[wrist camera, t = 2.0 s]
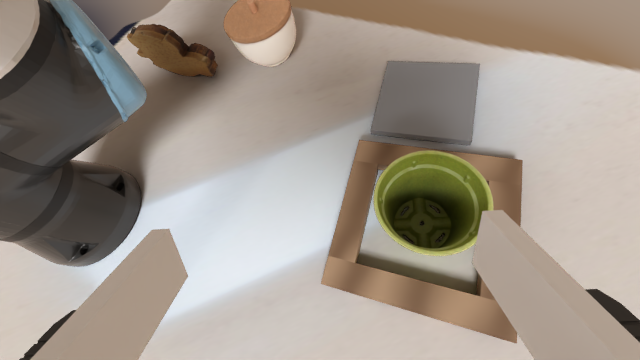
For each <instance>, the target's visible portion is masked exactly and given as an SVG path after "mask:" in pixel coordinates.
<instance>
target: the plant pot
mask: <svg viewBox="0 0 640 360" xmlns="http://www.w3.org/2000/svg"><path fill="white" fill-rule="evenodd" d="M429 205H430V206H434V207H436V208H438V209H439V210H440V213H437V212H436V211H435V210H434V209H433V208H431V207H430V206H429ZM407 206H408V207H409V209H408V210H407V211H406V212H405V213H404V214H403V216H401V212H402V211H403V209H404V208H405V207H407ZM374 209H375V213H376V216H377V218H378V221H379V223H380V224H381V226H382V228H383V229H384V230H385V232H386V233H387V234H388V235H389V236H390V237H391V238H392V239H393V240H394V241H396V242H397V243H399V244H400V245H402V246H403V247H405V248H407V249H409V250H411V251H414V252H417V253H420V254H424V255H430V256H446V255H452V254H456V253H459V252H462V251H464V250H466V249H468V248H470V247H471V246H473V245H474V244H475V243H476V240H477V235H478V231H479V226H480V221H481V216H482V211H492V210H493V198H492V194H491V190H490V188H489V186H488V184H487V182H486V180H485V178H484V177H483V176H482V174H481V173H480V172H479V171H478V170H477V169H476V168H475V167H474V166H472V165H471V164H470V163H469V162H467V161H465V160H463V159H461V158H459V157H457V156H455V155H453V154H450V153H445V152H440V151H432V150H431V151H430V150H427V151H417V152H413V153H410V154H407V155H405V156H402V157H400V158H398V159H396V160H395V161H394V162H392V163H391V164H390V165H389V166H388V167H387V168H386V169H385V170H384V171H383V173H382V174H381V176H380V177H379V179H378V181H377V184H376V186H375V190H374ZM421 221H423V222H424V225H420V222H421ZM442 233H444V237H443V238H442V240H441V241H440V242H435V241H436V240H437V239H438V238H439V237H440V236H441V234H442ZM404 234H405V235H406V236H407V237H408V238H409V239H410V240H412V241H413V242H414V243H413V244H411V243H409V242H408V241H407V240H406V239H404V237H403V235H404Z"/></svg>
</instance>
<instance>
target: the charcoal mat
mask: <svg viewBox="0 0 640 360" xmlns="http://www.w3.org/2000/svg"><path fill="white" fill-rule="evenodd" d="M479 67H480V64H468V63H434V62H400V61H388V64H387V68H386V71H385V75H384V79H383V83H382V87H381V91H380V95H379V99H378V103H377V107H376V111H375V115H374V119H373V122H372V126H371V134H374V135H383V136H391V137H400V138H409V139H418V140H426V141H435V142H444V143H452V144H461V145H470V143H471V141H472V133H473V124H474V114H475V105H476V95H477V86H478V76H479Z"/></svg>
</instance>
